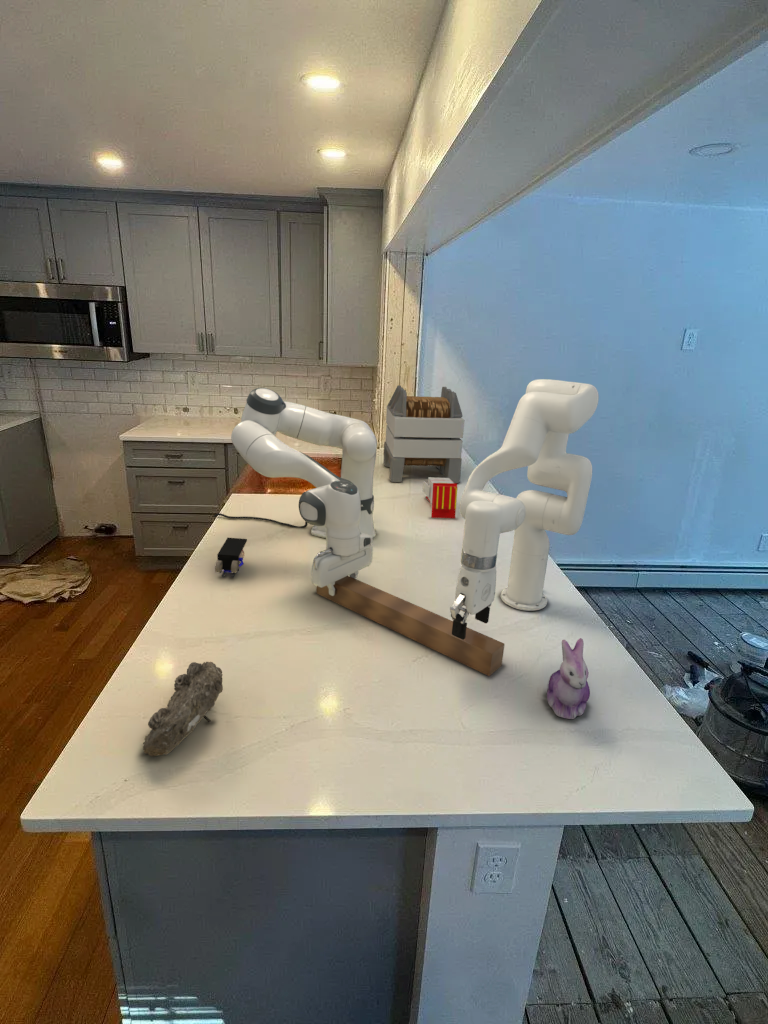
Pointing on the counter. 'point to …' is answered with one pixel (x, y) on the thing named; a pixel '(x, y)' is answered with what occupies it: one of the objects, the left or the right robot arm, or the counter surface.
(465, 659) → the beam
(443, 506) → the toy
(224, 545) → the figurine character
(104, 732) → the counter surface
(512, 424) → the right robot arm
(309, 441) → the left robot arm
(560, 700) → the figurine
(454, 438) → the transformer
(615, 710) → the counter surface
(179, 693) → the fossil
